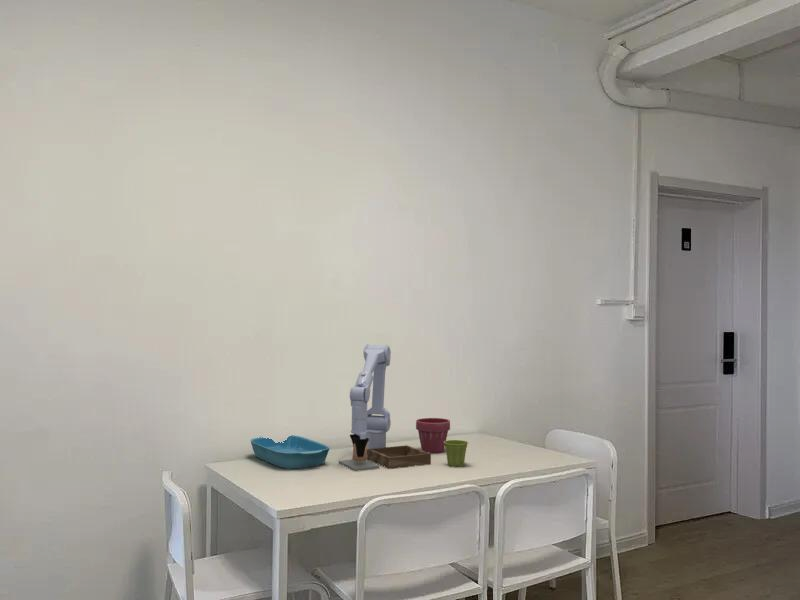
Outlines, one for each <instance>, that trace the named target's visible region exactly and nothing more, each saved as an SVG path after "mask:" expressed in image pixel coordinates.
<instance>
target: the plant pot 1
mask: <svg viewBox="0 0 800 600" xmlns="http://www.w3.org/2000/svg"><path fill="white" fill-rule="evenodd" d="M415 429H416V430H417V433H418V437H419V438H418V439H419V444H420V447H421V450H422V451H425V452H430V454H439V452H440V453H443V452H444V451H445V448H446V447H445V444H444V441H447V439H448V438H447V437H448V431H451V420H450V419H447V418H443V417H442V418H441V417H424V418H417V419H416V420H415Z"/></svg>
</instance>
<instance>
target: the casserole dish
mask: <svg viewBox="0 0 800 600" xmlns="http://www.w3.org/2000/svg"><path fill="white" fill-rule="evenodd" d="M258 437H259V438H258ZM258 437H254V438H252V439H250V443H251V444H250V445H251V448H252V450H253V453H254V455H255V456H256V457H258V458H259V459H260V460H263V461H264V460H265V462H266V461H267V462H266V463H270V464H271V465H274V466H276V467H278V466H279V468H281V467H282V468H281V469H285V468H286V469H287V470H295V469H296V468H297V469H304V467H305V468H311V467H317V466H321V465H322V464H323V463H325V461H326V459H327V457H328V453H329V452H330V451H329V450H330V448H331V447H330V446H328V445H327V444H325V443H321V442H318V441H315V440H313V439H310V438H307V437H304V436H301V435H294V434H293V435H292V434H291V436H289V437H288V438H287V440H285V441H283V442H284V443H282V442H281V443H280V442H278V443H275V442H274V441H273V440H272V439H269V438H267V439H266V438H263V437H262V436H258ZM261 437H262V438H261Z"/></svg>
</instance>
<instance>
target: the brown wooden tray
mask: <svg viewBox="0 0 800 600" xmlns="http://www.w3.org/2000/svg"><path fill="white" fill-rule="evenodd" d="M431 456H432V453H428V452H425V451H422V449H419V448H415V447H413V446H410V445H397V446H396V445H395V446H386V447H384V448H373V449H367V459H368V460H367V459H366V460H367V461H370V460H371V461H370V462H372V461H373V462H372V463H374V462H375V463H374V464H377V463H378V464H377V465H379V464H380V465H379V466H381V465H383V466H382V467H384V466H385V467H384V468H386V467H387V468H386V469H388V468H392V469H399V468H398V467H401V468H406V467H405V466H410V467H416V466H415V465H419V466H425V465H424V464H428V465H431V463H432V459H431V458H432V457H431Z"/></svg>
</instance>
